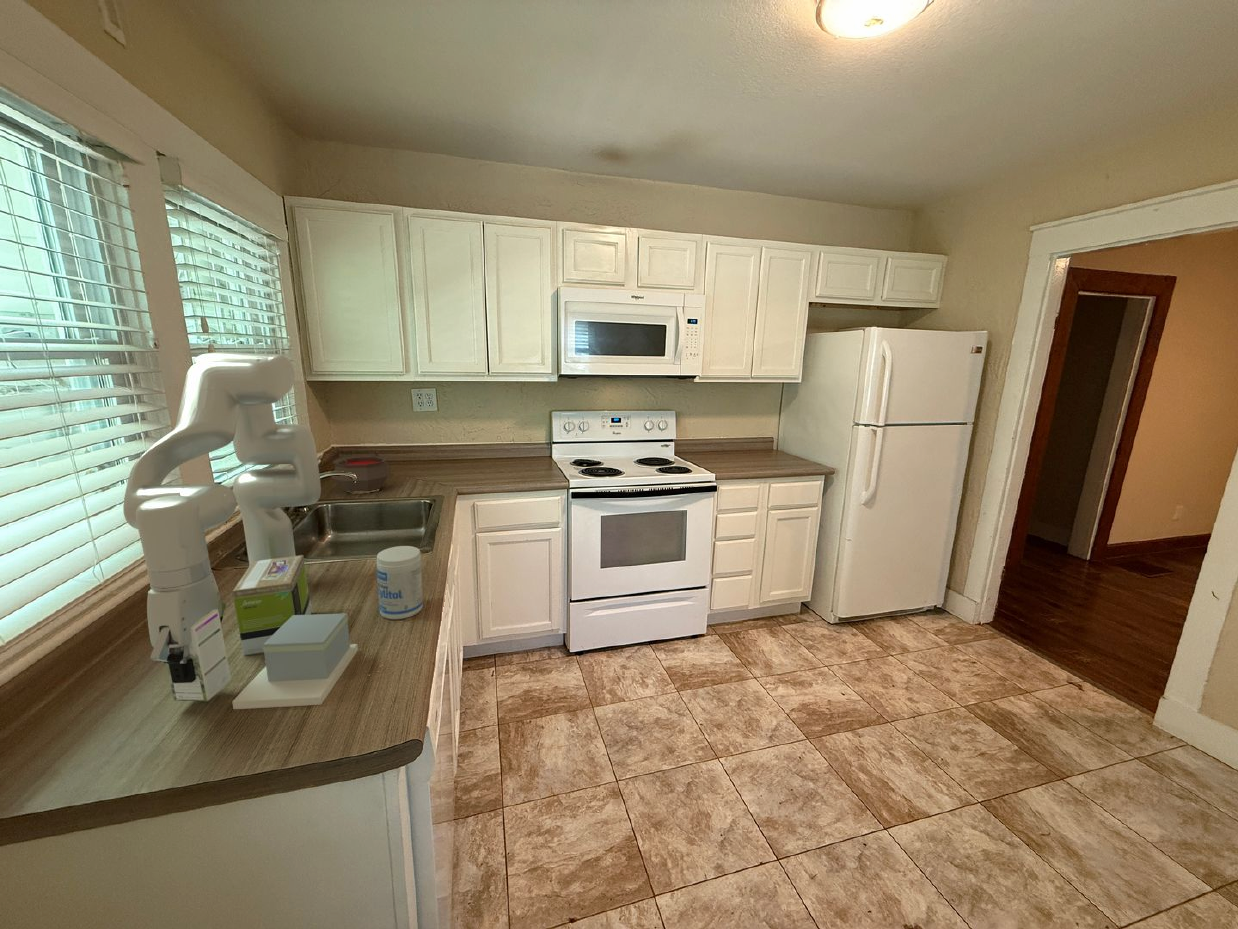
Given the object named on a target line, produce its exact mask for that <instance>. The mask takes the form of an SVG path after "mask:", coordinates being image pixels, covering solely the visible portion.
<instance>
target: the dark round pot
mask: <svg viewBox="0 0 1238 929" xmlns="http://www.w3.org/2000/svg"><path fill="white" fill-rule="evenodd" d="M379 454H380V451H378V449H374V451H373V454H371V455H370V454H368V455H367V454H364V455H363V454H361V455H360V454H358V455H352V456H350V455H349V456H345V457H341V458H340V457H339V458H337V459H336V460H334V461H332V464H333V465H334V469H333V472H334V471H344V472H352V473H355V474H356V475H357V481H356V483H354V482H353V480H352V479H351V478H350V477H348V476H344V475H340V476H332V475H331V477H330V478H331V480H332V481H333V482H335V483H336V485H338V487H339V488H340V489H341V490H342V491H343V492H345V491H350V492H354V491H372V490H377V489H380V488H381V487H382V488H383V487H384V485H385V483H386V482H387V480H388V479H389V477H390V476H391V474H392V472H393V470H392V469H391V467H390V466H389V463H388V462H387V460H388V459H389V457H388V456H385V455H384V456H382V455H379ZM382 488H381V489H382ZM381 489H380V490H381Z"/></svg>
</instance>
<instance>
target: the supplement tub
mask: <svg viewBox="0 0 1238 929" xmlns="http://www.w3.org/2000/svg"><path fill="white" fill-rule="evenodd" d="M422 570H423V569H422V554H421V550H420V549H419V548H418V547H415V546H411V545H399V546H393V547H388V548H386V549H383V550H381V551H380V552H378V553H377V556H376V577H377V578H376V579H377V580H376V581H377V595H378V597H377V598H378V609H379V614H380V616H382V617H383V618H385V619H389V620H401V619H407V618H411V617H413V616H415V615H417V614H418V613H419V612H420V611H421V610H422V609H423V606H424V598H423V597H424V595H423V571H422Z"/></svg>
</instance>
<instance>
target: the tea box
mask: <svg viewBox="0 0 1238 929" xmlns="http://www.w3.org/2000/svg"><path fill="white" fill-rule="evenodd" d="M305 564H306V563H305V557H304V555H303V554H300V555H296V556H292V557H284V558H276V559H268V560H260V561H253V562H252V564H251V565H250V566H248V568H247V569H246V570H245V572H244V574H243V575H242V577H241V578H240V579H239V581H238V583H236V585H235V587H234V589H233V590H232V599H233V604H234V610H235V616H236V622H237V626H238V627H237V628H238V633H239V638H240V644H241V650H242V654H243V656H251V655H256V654H264V652H263V648H262V647H263V644H264V643H265V642H266V641H267V640H268V639H269V638H270V637H271V636H272V635H273V634H274V633H275V632H276V631H277V630H278V629H279V628H280V627H281V626H282V625H283V624H284V623H285V622H286V621H287V620H289V619H290V618H291V617H292V616H293V615H312V604H311V599H310V598H311V597H310V591H309V586H308V576H307V572H306V565H305Z"/></svg>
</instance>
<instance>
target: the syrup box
mask: <svg viewBox="0 0 1238 929" xmlns="http://www.w3.org/2000/svg"><path fill="white" fill-rule="evenodd" d="M191 637H192V642H191V643H190V644H188V645H189V658H188V659H192V662H193V666H194V671H195V676H196V680H195V681H193V682H192V683H173V682H172V678H171V674H170V669H169V664H165V665H166V669H167V675H168V678H169V683H170V684H169V685H170V688H171V692H172V696H173V700H174V701H176V702H177V701H178V702H185V701H186V702H187V701H188V702H208V701H210V700H211V699H213V697H215V695H217V694H218V693H219V692H220V691H221V690H222V689H223V688H224V687H225V686H227V685H228V684H229V683H230V682H231V680H232V677H231V671H230V667H229V661H228V657H227V652H226V651H227V650H226V646H225V640H224V635H223V629H222V622H220V617H219V612H218V610H217V609H213V610H212V611H210V612H209V613H208V614H206V615H205V616H204V617H202V618H201V619H200V620H199V621H198V622H197V623H195V624H194V625H193V626H192V627H191ZM172 641H173V643H178V642H175V640H174V639H173V640H172ZM180 651H181V648H175V650H174V653H175V654H179V655H180Z"/></svg>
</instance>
